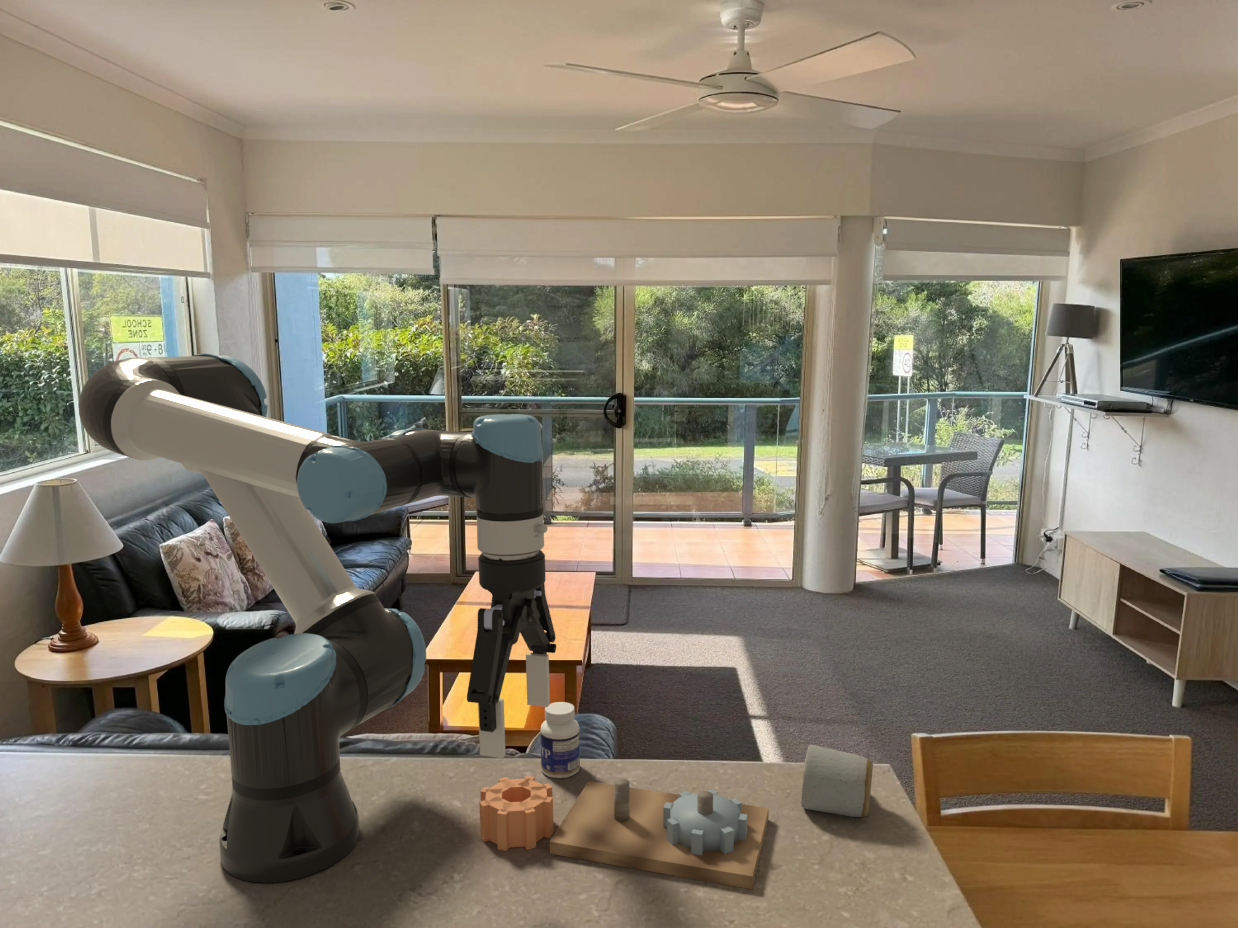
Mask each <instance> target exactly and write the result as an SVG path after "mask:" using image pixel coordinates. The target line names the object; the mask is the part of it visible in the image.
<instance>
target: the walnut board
mask: <svg viewBox="0 0 1238 928" xmlns="http://www.w3.org/2000/svg"><path fill="white" fill-rule="evenodd" d="M613 782H614V783H613V784H612V783H611V784H610V783H603V782H596V781H589V780H588V781H587V783H586V784H585V786H584V787H583V789H582V791H581V792H580V793H579V795H578V797H577V798H576V800H575V801H574V803H573V804H572V806H571V808H570V809H569V811H568V812H567V814H566V815H565V817H564V819H563V821H561V823H560V825H559V826H558V828H557V829H556V831H555V832H554V833H553V835H552V836H551V837H552V838H550V841H549V854H550V855H555V856H561V857H566V858H571V859H577V860H578V859H579V860H583V861H589V862H593V863H594V862H596V863H600V864H607V865H613V866H617V867H623V868H630V869H634V870H640V871H646V872H652V873H658V874H663V875H667V876H668V875H670V876H675V877H681V878H685V879H692V880H697V881H703V882H708V883H709V882H710V883H714V884H721V885H726V886H730V887H731V886H732V887H737V888H743V889H749V890H753V887H754V883H755V879H756V874H757V871H758V867H759V862H760V858H761V853H762V848H763V845H764V841H765V840H764V839H765V836H766V835H765V834H766V831H767V828H768V823H769V809H770V808H769V807H764V806H759V805H758V806H757V805H750V804H743V803H742V814H746V815H747V837H746V840H739V839H738V840H737V841H736V843H735V844H734V851H732V852H729V853H726V854H724V853H723V852H722V851H721V850H718V851H703V854H702V855H696V854H691V849H690V848H687V847H685V846H683V845H681V844H679V843H678V844H675V845H672V844H671V843H669V842H668V841H667V828H664V827H663V807H664V805H665V803H666V802H668V803H673V802H674V801H676V800H677V799H678V793H671V792H663V791H657V790H650V789H643V788H636V787H632V786H631V787H630V781H629V780H628V779H626V778H617V779H615V780H614V781H613ZM697 793H698V794H697V812H698V813H699V814H701V815H710V814H712V813H713V794H712V793H711V792H709V791H707V790H702V791H701V790H700V791H698V792H697Z"/></svg>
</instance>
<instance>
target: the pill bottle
mask: <svg viewBox="0 0 1238 928" xmlns="http://www.w3.org/2000/svg"><path fill="white" fill-rule="evenodd" d="M575 711H576V710H575V706H574V704H572V703H570V702H565V701H556V702H555V701H554V702H551V703H550V705H549V706H548V707H544V719H545V720H544V721H543V722H542V723H541V725H540V730H539V731H540V733H539V734H540V769H541V772H542V773H543V774H544V775H545V776H547V777H548V778H553V779H566V778H570V777H572V776H574V775H575V774H577V773H578V772H579V771H580V765H581V763H580V761H581V759H580V757H581V756H580V725H579V722H578V721H577V720H576V719H575V716H576V712H575Z"/></svg>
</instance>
